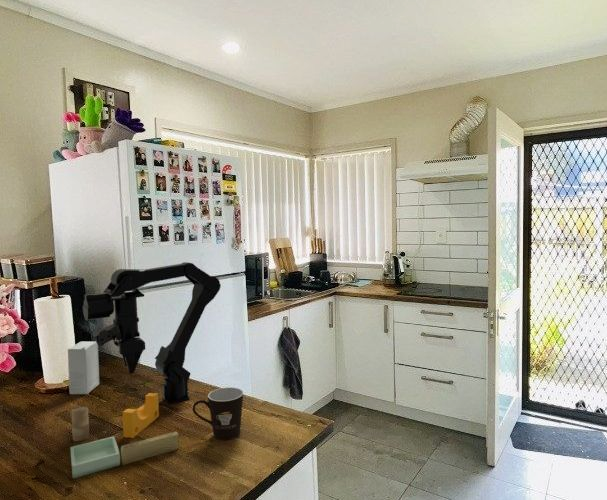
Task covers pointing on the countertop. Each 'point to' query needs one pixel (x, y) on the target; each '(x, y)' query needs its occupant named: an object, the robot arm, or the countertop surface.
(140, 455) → the bar
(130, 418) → the pipe clamp
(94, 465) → the tray
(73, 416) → the oak dowel
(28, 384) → the countertop surface
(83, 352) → the skincare box
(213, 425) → the coffee mug
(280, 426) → the countertop surface
